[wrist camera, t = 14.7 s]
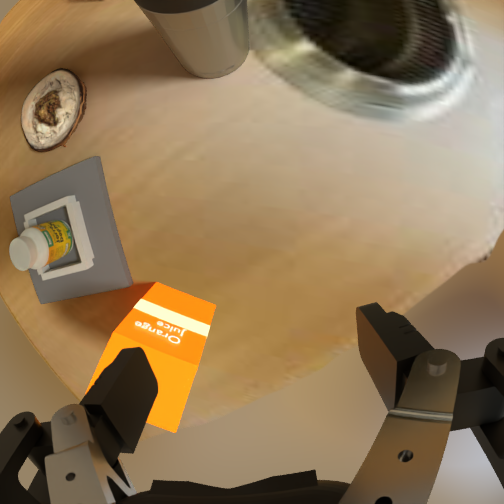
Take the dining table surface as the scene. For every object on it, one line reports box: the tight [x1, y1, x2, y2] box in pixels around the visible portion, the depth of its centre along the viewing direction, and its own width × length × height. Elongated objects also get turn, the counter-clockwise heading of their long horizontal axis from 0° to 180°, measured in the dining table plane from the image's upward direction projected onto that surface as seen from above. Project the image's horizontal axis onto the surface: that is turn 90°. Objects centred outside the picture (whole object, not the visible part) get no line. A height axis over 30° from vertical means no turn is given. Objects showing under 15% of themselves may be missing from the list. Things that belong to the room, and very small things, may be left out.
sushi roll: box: [21, 68, 87, 152], centre depth 32 cm, size 15×15×4 cm
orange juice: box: [85, 282, 216, 433], centre depth 31 cm, size 8×9×20 cm
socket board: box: [10, 156, 133, 304], centre depth 37 cm, size 18×18×4 cm
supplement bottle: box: [9, 220, 74, 271], centre depth 32 cm, size 5×5×10 cm
